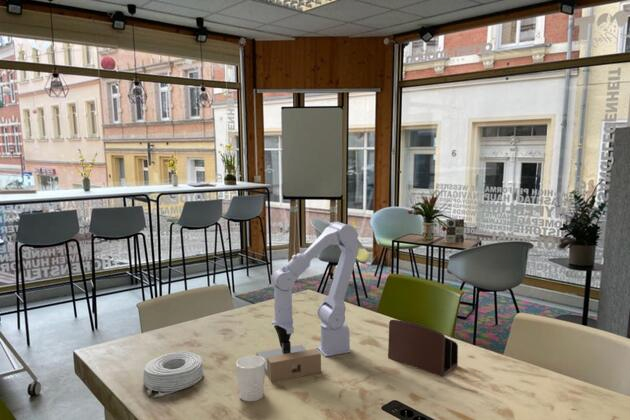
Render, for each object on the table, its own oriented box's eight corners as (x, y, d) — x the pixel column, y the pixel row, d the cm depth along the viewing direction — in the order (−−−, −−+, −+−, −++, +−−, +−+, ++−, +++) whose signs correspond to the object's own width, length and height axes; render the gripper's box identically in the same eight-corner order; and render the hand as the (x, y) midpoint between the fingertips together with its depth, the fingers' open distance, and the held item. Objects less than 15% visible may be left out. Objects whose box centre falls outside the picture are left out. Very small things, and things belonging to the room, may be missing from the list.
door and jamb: (256, 356, 150) (256, 339, 150) (301, 348, 156) (301, 332, 155) (270, 382, 134) (270, 362, 133) (321, 372, 139) (320, 353, 139)
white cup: (260, 404, 122) (259, 369, 121) (233, 401, 124) (231, 366, 122) (269, 389, 130) (268, 356, 128) (243, 386, 131) (242, 354, 130)
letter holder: (443, 378, 135) (444, 333, 133) (387, 358, 149) (387, 317, 147) (458, 366, 142) (459, 323, 141) (403, 348, 156) (404, 309, 154)
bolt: (281, 356, 147) (281, 340, 146) (288, 355, 148) (288, 339, 147) (291, 370, 137) (290, 353, 137) (298, 368, 138) (298, 352, 138)
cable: (149, 402, 124) (148, 381, 123) (137, 376, 139) (136, 357, 138) (211, 384, 133) (210, 365, 132) (193, 361, 148) (192, 344, 147)
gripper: (265, 301, 151) (266, 340, 153) (277, 316, 138) (278, 358, 139) (285, 299, 153) (286, 337, 155) (299, 312, 140) (300, 354, 142)
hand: (284, 347), depth 147 cm, fingers closed
